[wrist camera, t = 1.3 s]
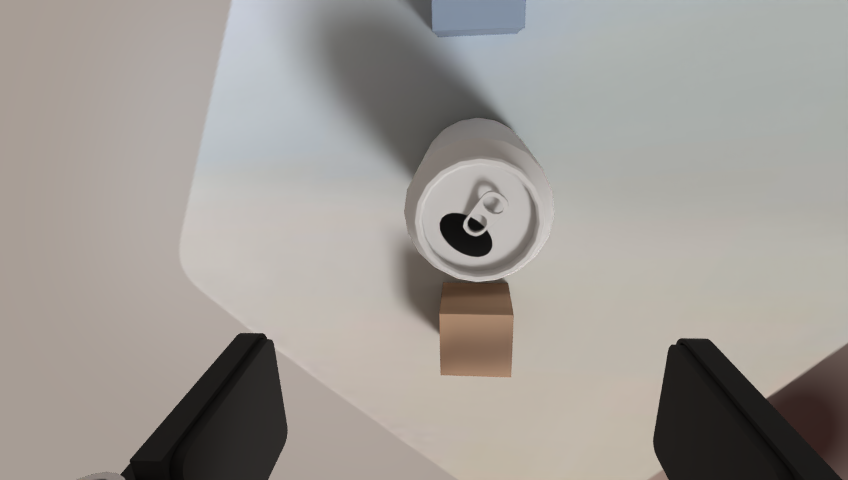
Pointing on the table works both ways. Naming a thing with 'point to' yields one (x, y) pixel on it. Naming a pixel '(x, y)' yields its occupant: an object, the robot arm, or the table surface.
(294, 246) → the table surface
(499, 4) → the slate block
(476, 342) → the walnut block
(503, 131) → the can
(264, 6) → the table surface
